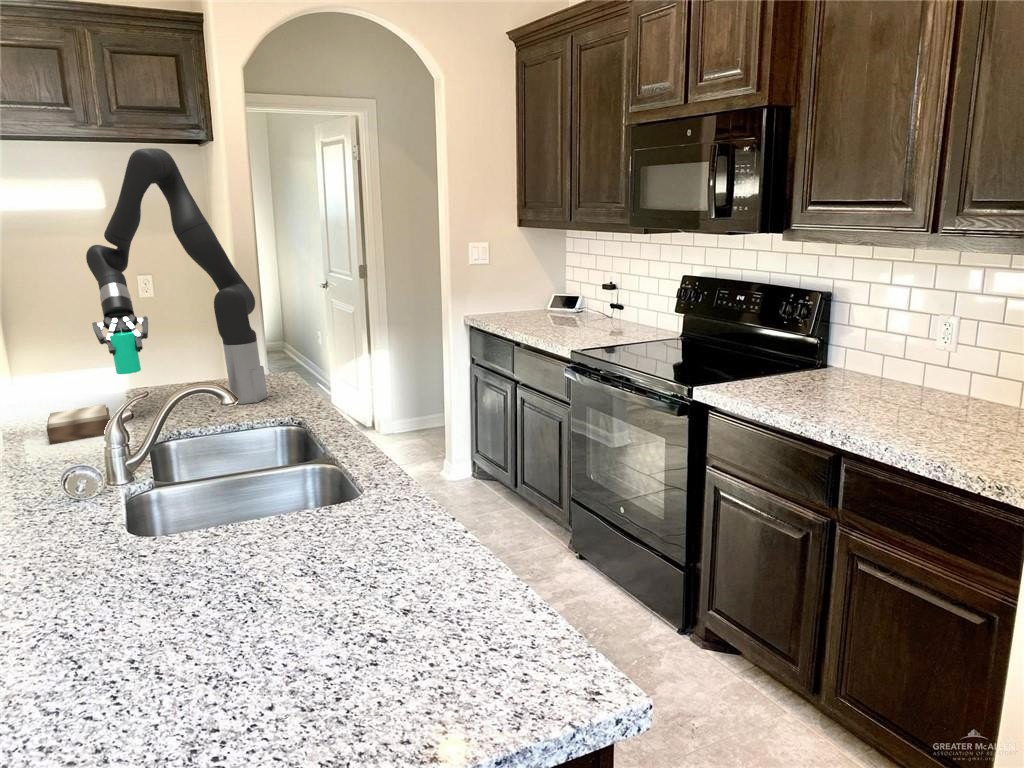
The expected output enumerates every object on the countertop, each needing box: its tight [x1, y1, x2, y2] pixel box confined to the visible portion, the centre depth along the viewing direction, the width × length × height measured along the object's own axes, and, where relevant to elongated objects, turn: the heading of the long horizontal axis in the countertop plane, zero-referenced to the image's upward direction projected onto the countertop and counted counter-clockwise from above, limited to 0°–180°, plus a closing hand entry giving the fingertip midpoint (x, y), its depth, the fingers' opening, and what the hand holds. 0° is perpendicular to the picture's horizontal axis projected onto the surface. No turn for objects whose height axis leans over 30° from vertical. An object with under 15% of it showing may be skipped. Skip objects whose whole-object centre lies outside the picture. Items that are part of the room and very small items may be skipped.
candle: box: [110, 330, 142, 375], centre depth 203 cm, size 6×6×12 cm
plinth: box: [46, 404, 111, 445], centre depth 196 cm, size 14×14×5 cm
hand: (126, 351), depth 201 cm, fingers closed on candle, 5 cm apart
